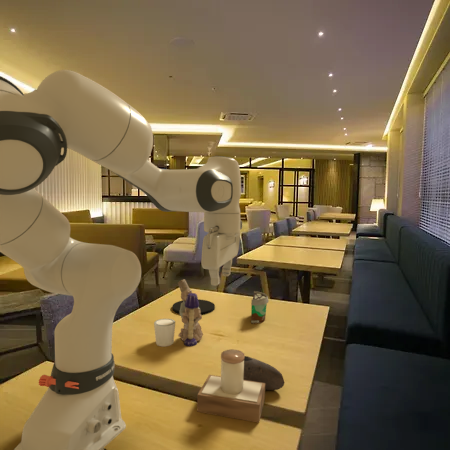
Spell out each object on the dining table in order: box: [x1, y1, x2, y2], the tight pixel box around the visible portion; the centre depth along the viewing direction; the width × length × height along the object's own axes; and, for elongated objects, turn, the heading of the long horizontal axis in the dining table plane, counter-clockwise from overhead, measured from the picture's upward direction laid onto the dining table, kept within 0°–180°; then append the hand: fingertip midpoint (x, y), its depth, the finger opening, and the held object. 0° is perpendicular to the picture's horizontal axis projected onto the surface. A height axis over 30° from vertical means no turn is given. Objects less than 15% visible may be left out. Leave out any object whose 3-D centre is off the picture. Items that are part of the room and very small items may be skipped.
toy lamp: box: [183, 292, 199, 347], centre depth 113 cm, size 5×5×17 cm
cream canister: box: [220, 348, 246, 394], centre depth 80 cm, size 5×5×8 cm
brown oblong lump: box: [244, 355, 285, 391], centre depth 89 cm, size 15×5×7 cm, turn 64°
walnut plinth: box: [196, 374, 266, 423], centre depth 81 cm, size 9×14×4 cm, turn 76°
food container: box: [250, 290, 269, 324], centre depth 135 cm, size 12×6×10 cm, turn 171°
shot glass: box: [153, 318, 176, 347], centre depth 114 cm, size 7×7×7 cm
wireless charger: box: [172, 298, 216, 316], centre depth 148 cm, size 18×18×2 cm
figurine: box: [177, 278, 204, 342], centre depth 117 cm, size 9×8×20 cm
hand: (221, 280), depth 87 cm, fingers open, 8 cm apart
